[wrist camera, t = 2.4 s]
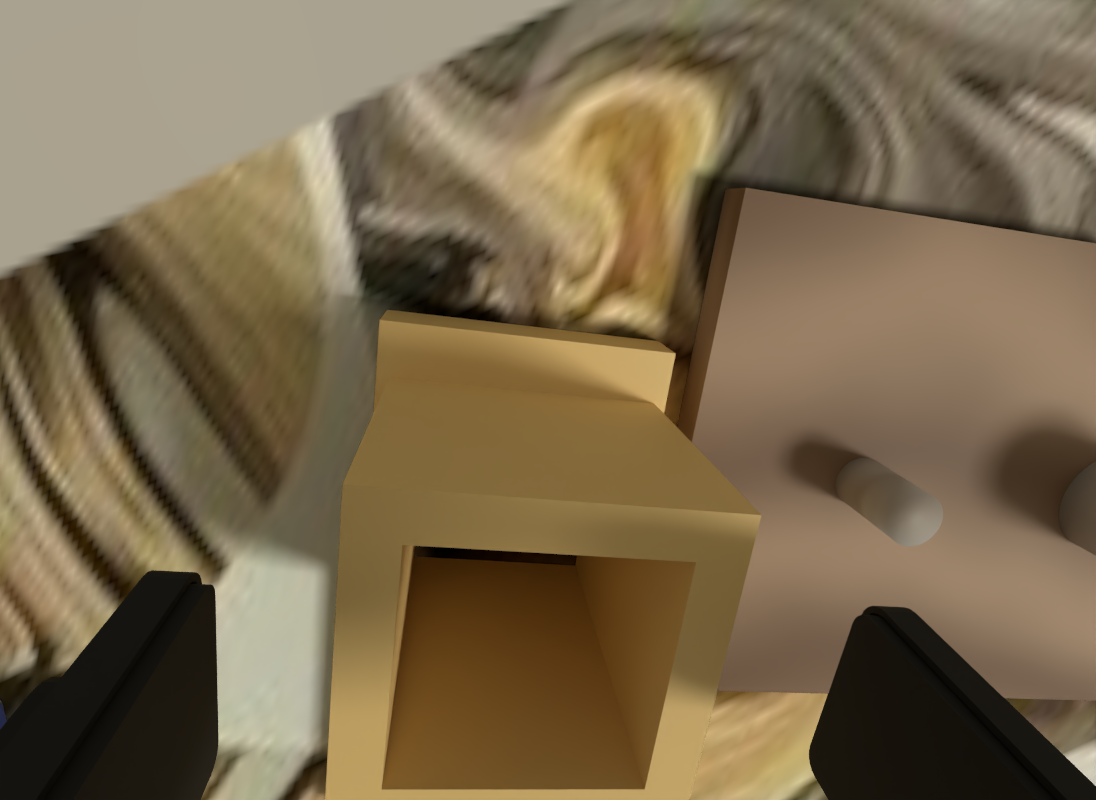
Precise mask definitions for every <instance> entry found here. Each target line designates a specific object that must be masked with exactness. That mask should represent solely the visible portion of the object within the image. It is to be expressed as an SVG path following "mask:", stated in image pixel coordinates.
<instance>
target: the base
mask: <svg viewBox="0 0 1096 800" xmlns="http://www.w3.org/2000/svg"><path fill="white" fill-rule="evenodd" d="M677 428H678V429H679V430H680V431H681V432H682V433H683V434H684V435H685V436H686V437H687V438H688V439H689V440H690V441H691V442H692V443H693V444H694V445H695V446H696V447H697V448H698V450H699V451H700V452H701V453H702V454H703V455H704V456H705V457H706V458H707V459H708V460H709V461H710V462H711V463H712V464H713V465H714V466H715V467H716V468H717V469H718V470H719V471H720V472H721V473H722V475H723V476H724V477H725V478H726V479H727V480H728V481H729V482H730V483H731V484H732V485H733V486H734V487H735V488H736V489H737V490H738V491H739V492H740V493H741V494H742V495H743V496H744V497H745V498H746V499H747V501H748V502H749V503H750V504H751V505H752V506H753V507H754V508H755V509H756V510H757V511H758V512H759V513H760V514H761V519H760V523H759V527H758V531H757V535H756V539H755V543H754V547H753V551H752V555H751V559H750V563H749V567H748V571H747V575H746V579H745V583H744V587H743V591H742V595H741V599H740V603H739V607H738V610H737V614H736V618H735V622H734V626H733V630H732V634H731V638H730V642H729V646H728V650H727V654H726V658H725V662H724V666H723V670H722V674H721V678H720V682H719V686H718V690H717V691H749V692H788V693H827V694H828V693H829V690H830V687H831V684H832V681H833V679H834V676H835V673H836V670H837V667H838V664H839V661H840V658H841V655H842V652H843V650H844V647H845V644H846V641H847V638H848V635H849V632H850V629H851V626H852V624H853V621H854V620H855V618H856V617H857V616H859V615H862V613H863V611H864V610H865V609H866V608H867V607H870V606H889V607H905V608H909V609H911V610H912V611H914V612H915V613H916V614H917V615H918V616H919V617H921V618H922V619H923V620H924V621H925V622H926V623H927V624H928V625H929V626H930V627H931V628H932V629H933V630H934V631H935V632H936V633H937V634H938V635H939V636H940V637H941V638H942V639H943V640H944V641H945V642H946V643H948V644H949V645H950V646H951V647H952V648H953V649H954V650H955V651H956V652H957V653H958V654H959V655H960V656H961V657H962V658H963V659H964V660H965V661H966V662H967V663H968V664H969V665H970V666H971V667H972V668H973V669H974V670H976V671H977V672H978V673H979V674H980V675H981V676H982V677H983V678H984V679H985V680H986V681H987V682H988V683H989V684H990V685H991V686H992V687H993V688H994V689H995V690H996V691H997V692H998V693H999V694H1000V695H1001V696H1003V697H1004V698H1020V699H1059V700H1096V243H1090V242H1083V241H1077V240H1071V239H1065V238H1058V237H1052V236H1046V235H1040V234H1033V233H1027V232H1021V231H1015V230H1008V229H1002V228H996V227H989V226H983V225H977V224H971V223H964V222H958V221H952V220H946V219H939V218H933V217H927V216H920V215H914V214H908V213H902V212H895V211H889V210H883V209H877V208H870V207H864V206H858V205H851V204H845V203H839V202H833V201H826V200H820V199H814V198H808V197H801V196H795V195H789V194H782V193H776V192H770V191H764V190H757V189H751V188H732V189H726V190H725V195H724V200H723V205H722V210H721V215H720V219H719V224H718V229H717V234H716V239H715V244H714V249H713V254H712V259H711V264H710V268H709V273H708V278H707V283H706V288H705V293H704V298H703V303H702V308H701V313H700V317H699V322H698V327H697V332H696V337H695V342H694V347H693V352H692V357H691V362H690V366H689V371H688V376H687V381H686V386H685V391H684V396H683V401H682V406H681V411H680V415H679V420H678V425H677Z"/></svg>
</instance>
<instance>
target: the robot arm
mask: <svg viewBox="0 0 1096 800" xmlns="http://www.w3.org/2000/svg"><path fill="white" fill-rule="evenodd" d="M217 750H218V701H217V654H216V606H215V589H214V587H213V586H212V585H205V584H202V582H201V578H200V575H199V574H198V573H193V572H173V571H149V572H147V573H146V574H145V575H144V576H143V577H142V578H141V580H140V581H139V582H138V583H137V585H136V586H135V587H134V588H133V590H132V591H131V592H130V593H129V595H128V596H127V597H126V598H125V600H124V601H123V602H122V603H121V604H120V606H119V607H118V608H117V609H116V611H115V612H114V613H113V614H112V616H111V617H110V618H109V619H108V621H107V622H106V623H105V624H104V625H103V627H102V628H101V629H100V630H99V632H98V633H97V634H96V635H95V637H94V638H93V639H92V640H91V642H90V643H89V644H88V645H87V647H86V648H85V649H84V650H83V651H82V653H81V654H80V655H79V656H78V658H77V659H76V660H75V661H74V663H73V664H72V665H71V666H70V668H69V669H68V670H67V671H66V672H65V674H64V675H63V676H62V677H51V678H49V679H47V680H45V681H43V682H42V683H41V684H40V685H39V686H37V687H36V688H35V689H34V690H33V691H32V692H31V693H30V695H29V696H28V697H27V698H26V699H25V700H24V702H23V703H22V704H21V705H20V706H19V708H18V709H17V710H16V711H15V712H14V713H13V715H12V716H11V717H10V718H9V719H8V721H7V722H6V723H5V724H4V725H3V727H2V728H1V729H0V800H200V799H201V797H202V795H203V792H204V790H205V788H206V785H207V783H208V781H209V778H210V776H211V773H212V771H213V768H214V764H215V760H216V756H217ZM809 759H810V765H811V768H812V771H813V773H814V776H815V777H816V779H817V781H818V783H819V784H820V786H821V788H822V789H823V791H824V793H825V795H826V796H827V798H828V800H1096V786H1095V785H1094V784H1093V783H1092V782H1091V781H1090V780H1089V779H1088V778H1087V777H1086V776H1085V775H1083V774H1082V773H1081V772H1080V771H1079V770H1078V769H1077V768H1076V767H1075V766H1074V765H1073V764H1072V763H1071V762H1070V761H1069V760H1068V759H1067V758H1066V757H1065V756H1064V755H1063V754H1062V753H1061V752H1060V751H1059V750H1058V749H1056V748H1055V747H1054V746H1053V745H1052V744H1051V743H1050V742H1049V741H1048V740H1047V739H1046V738H1045V737H1044V736H1043V735H1042V734H1041V733H1040V732H1039V731H1038V730H1037V729H1036V728H1035V727H1034V726H1033V725H1032V724H1031V723H1030V722H1028V721H1027V720H1026V719H1025V718H1024V717H1023V716H1022V715H1021V714H1020V713H1019V712H1018V711H1017V710H1016V709H1015V708H1014V707H1013V706H1012V705H1011V704H1010V703H1009V702H1008V701H1007V700H1006V699H1005V698H1004V697H1003V696H1001V695H1000V694H999V693H998V692H997V691H996V690H995V689H994V688H993V687H992V686H991V685H990V684H989V683H988V682H987V681H986V680H985V679H984V678H983V677H982V676H981V675H980V674H979V673H978V672H977V671H976V670H974V669H973V668H972V667H971V666H970V665H969V664H968V663H967V662H966V661H965V660H964V659H963V658H962V657H961V656H960V655H959V654H958V653H957V652H956V651H955V650H954V649H953V648H952V647H951V646H950V645H949V644H948V643H946V642H945V641H944V640H943V639H942V638H941V637H940V636H939V635H938V634H937V633H936V632H935V631H934V630H933V629H932V628H931V627H930V626H929V625H928V624H927V623H926V622H925V621H924V620H923V619H922V618H921V617H919V616H918V615H917V614H916V613H915V612H914V611H912V610H911V609H909V608H905V607H889V606H870V607H867V608H866V609H865V610H864V611H863V613H862V615H859V616H857V617H856V618H855V620H854V621H853V624H852V626H851V629H850V632H849V635H848V638H847V641H846V644H845V647H844V650H843V652H842V655H841V658H840V661H839V664H838V667H837V670H836V673H835V676H834V679H833V681H832V684H831V687H830V690H829V693H828V696H827V699H826V702H825V705H824V707H823V710H822V713H821V716H820V719H819V722H818V725H817V728H816V731H815V734H814V736H813V739H812V742H811V745H810V750H809Z"/></svg>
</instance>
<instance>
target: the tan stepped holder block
mask: <svg viewBox="0 0 1096 800" xmlns="http://www.w3.org/2000/svg"><path fill="white" fill-rule="evenodd" d="M675 355H676V353H674V352H673V351H672V350H670V349H669V348H667V347H666V346H664V345H663V344H662V343H660V342H659V341H653V340H645V339H636V338H628V337H619V336H610V335H602V334H593V333H584V332H576V331H567V330H559V329H550V328H541V327H533V326H524V325H516V324H507V323H498V322H490V321H481V320H472V319H464V318H455V317H447V316H438V315H429V314H421V313H412V312H404V311H395V310H386V312H385V313H384V315H383V316H382V317H381V319H380V321H379V336H378V351H377V366H376V381H375V396H374V411H373V415H372V418H371V420H370V422H369V424H368V427H367V429H366V431H365V434H364V436H363V438H362V441H361V443H360V445H359V447H358V450H357V452H356V454H355V457H354V459H353V461H352V464H351V466H350V468H349V470H348V473H347V475H346V477H345V480H344V482H343V484H342V501H341V519H340V537H339V556H338V574H337V593H336V611H335V629H334V648H333V666H332V684H331V703H330V721H329V740H328V758H327V776H326V795H325V800H690V797H691V793H692V789H693V785H694V781H695V777H696V773H697V769H698V765H699V761H700V757H701V753H702V749H703V745H704V741H705V737H706V733H707V729H708V725H709V722H710V718H711V714H712V710H713V706H714V702H715V698H716V694H717V690H718V686H719V682H720V678H721V674H722V670H723V666H724V662H725V658H726V654H727V650H728V646H729V642H730V638H731V634H732V630H733V626H734V622H735V618H736V614H737V610H738V607H739V603H740V599H741V595H742V591H743V587H744V583H745V579H746V575H747V571H748V567H749V563H750V559H751V555H752V551H753V547H754V543H755V539H756V535H757V531H758V527H759V523H760V519H761V514H760V513H759V512H758V511H757V510H756V509H755V508H754V507H753V506H752V505H751V504H750V503H749V502H748V501H747V499H746V498H745V497H744V496H743V495H742V494H741V493H740V492H739V491H738V490H737V489H736V488H735V487H734V486H733V485H732V484H731V483H730V482H729V481H728V480H727V479H726V478H725V477H724V476H723V475H722V473H721V472H720V471H719V470H718V469H717V468H716V467H715V466H714V465H713V464H712V463H711V462H710V461H709V460H708V459H707V458H706V457H705V456H704V455H703V454H702V453H701V452H700V451H699V450H698V448H697V447H696V446H695V445H694V444H693V443H692V442H691V441H690V440H689V439H688V438H687V437H686V436H685V435H684V434H683V433H682V432H681V431H680V430H679V429H678V428H677V427H676V426H675V425H674V424H673V422H672V421H671V420H670V419H669V418H668V417H667V416H666V415H665V414H664V411H665V406H666V401H667V396H668V391H669V386H670V381H671V376H672V370H673V365H674V360H675ZM415 546H429V547H446V548H463V549H480V550H497V551H514V552H531V553H547V554H564V555H577V559H576V565H557V564H539V563H522V562H504V561H486V560H469V559H451V558H433V557H416V556H414V555H415Z"/></svg>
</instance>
